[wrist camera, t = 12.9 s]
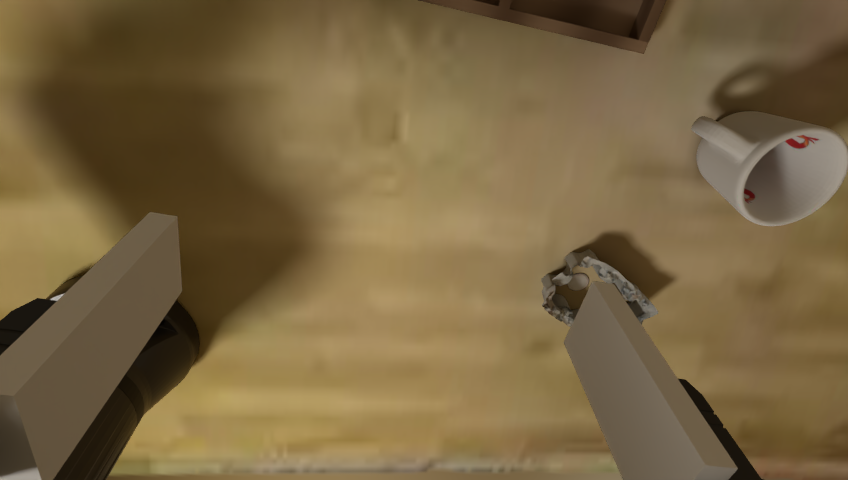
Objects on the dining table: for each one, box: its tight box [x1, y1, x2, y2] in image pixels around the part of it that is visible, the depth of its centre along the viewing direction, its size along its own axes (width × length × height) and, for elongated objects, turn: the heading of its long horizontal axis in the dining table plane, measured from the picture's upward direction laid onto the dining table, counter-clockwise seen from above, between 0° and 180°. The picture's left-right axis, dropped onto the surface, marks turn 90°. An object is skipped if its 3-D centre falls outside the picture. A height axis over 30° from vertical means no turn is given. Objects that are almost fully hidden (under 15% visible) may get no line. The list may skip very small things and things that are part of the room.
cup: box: [691, 111, 848, 226], centre depth 37 cm, size 11×8×8 cm
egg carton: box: [541, 249, 658, 327], centre depth 47 cm, size 11×8×4 cm
